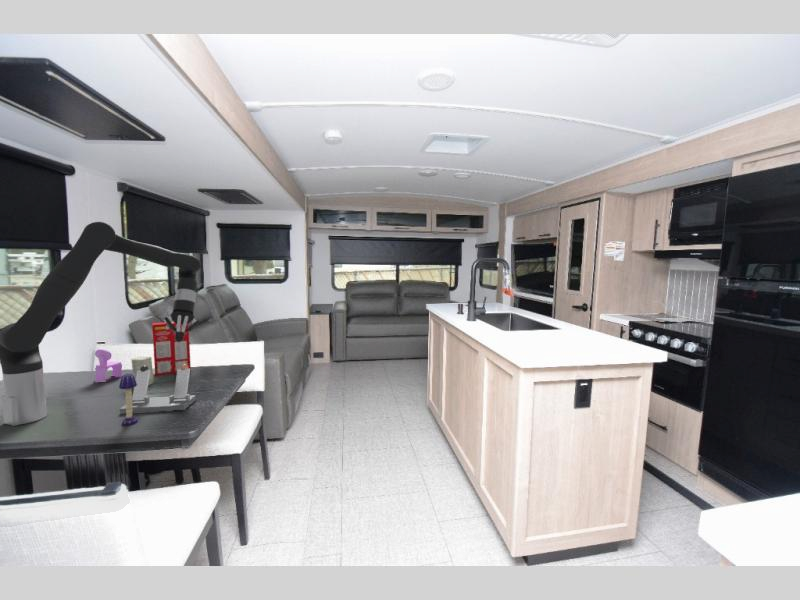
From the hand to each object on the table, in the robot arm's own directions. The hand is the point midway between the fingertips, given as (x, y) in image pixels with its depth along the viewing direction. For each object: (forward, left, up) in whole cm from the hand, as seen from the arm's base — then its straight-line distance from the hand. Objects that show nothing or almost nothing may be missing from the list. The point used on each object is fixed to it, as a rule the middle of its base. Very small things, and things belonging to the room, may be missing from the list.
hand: (178, 341), depth 140 cm
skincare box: (+2, +26, -22) cm, 35 cm away
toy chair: (+1, +48, -22) cm, 53 cm away
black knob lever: (-16, +1, -20) cm, 25 cm away
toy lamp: (-25, -9, -22) cm, 35 cm away
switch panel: (-12, -5, -22) cm, 26 cm away
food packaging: (+20, +32, -22) cm, 44 cm away
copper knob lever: (-9, -11, -20) cm, 24 cm away
